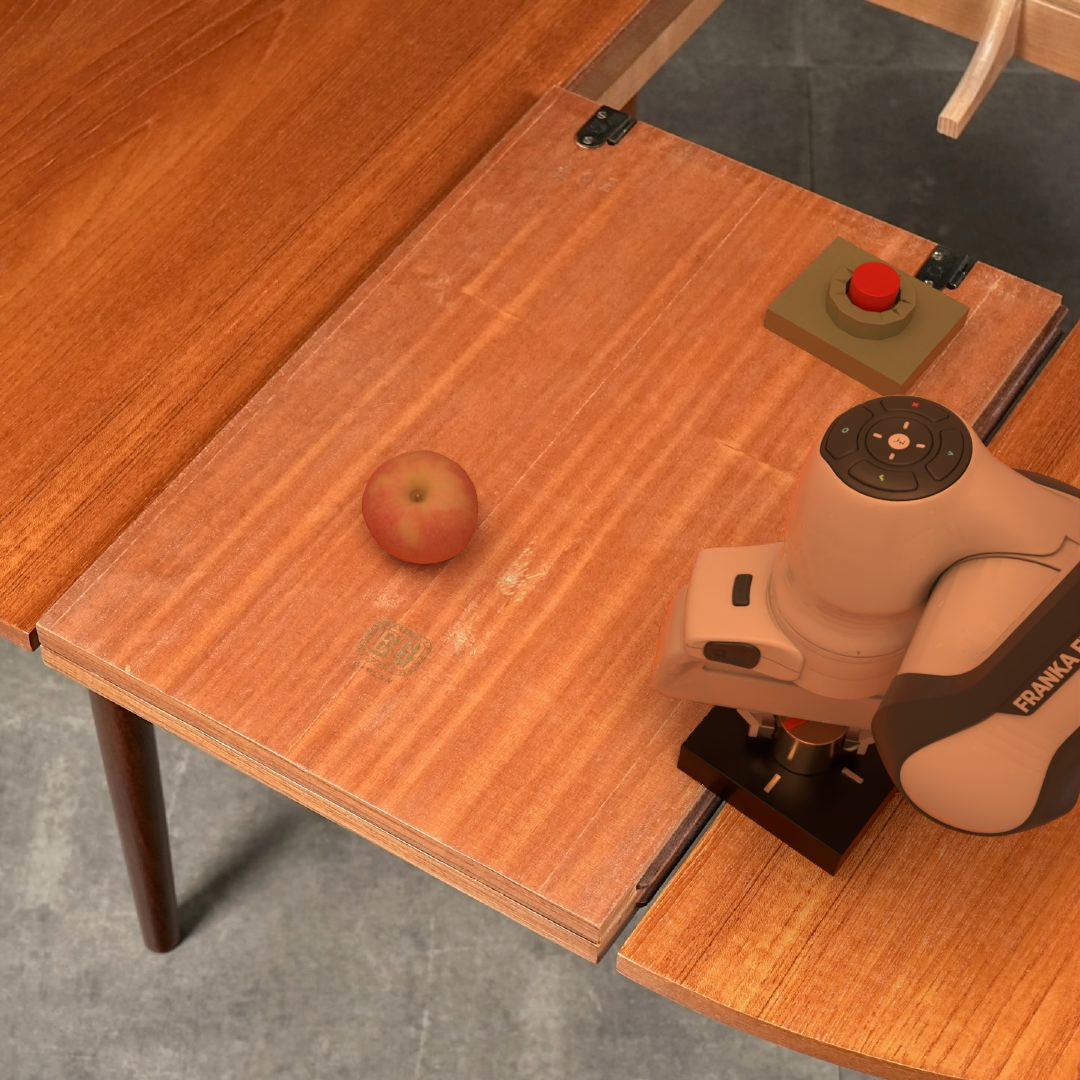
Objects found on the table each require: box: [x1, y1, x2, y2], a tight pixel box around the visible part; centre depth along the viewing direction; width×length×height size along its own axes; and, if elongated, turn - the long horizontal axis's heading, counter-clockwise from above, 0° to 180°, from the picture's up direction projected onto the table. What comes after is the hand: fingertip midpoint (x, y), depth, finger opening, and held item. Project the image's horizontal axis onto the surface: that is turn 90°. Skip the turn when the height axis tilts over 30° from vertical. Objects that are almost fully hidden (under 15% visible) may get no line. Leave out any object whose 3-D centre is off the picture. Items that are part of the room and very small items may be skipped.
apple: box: [361, 449, 479, 565], centre depth 115 cm, size 8×8×8 cm
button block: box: [763, 235, 971, 397], centre depth 130 cm, size 12×10×4 cm
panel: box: [676, 705, 899, 877], centre depth 108 cm, size 12×10×3 cm
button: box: [849, 262, 900, 312], centre depth 128 cm, size 4×4×2 cm
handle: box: [769, 715, 848, 775], centre depth 105 cm, size 4×4×4 cm
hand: (805, 735), depth 106 cm, fingers closed on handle, 4 cm apart
